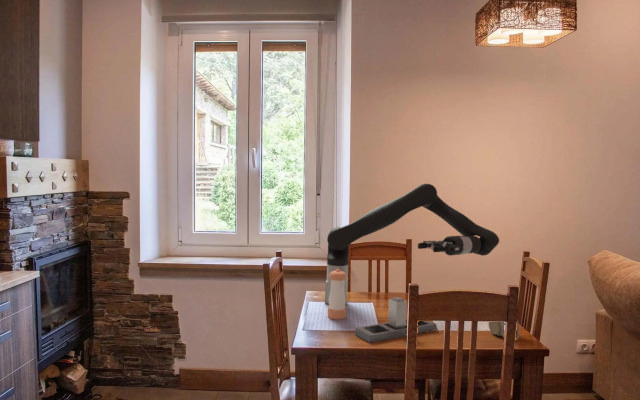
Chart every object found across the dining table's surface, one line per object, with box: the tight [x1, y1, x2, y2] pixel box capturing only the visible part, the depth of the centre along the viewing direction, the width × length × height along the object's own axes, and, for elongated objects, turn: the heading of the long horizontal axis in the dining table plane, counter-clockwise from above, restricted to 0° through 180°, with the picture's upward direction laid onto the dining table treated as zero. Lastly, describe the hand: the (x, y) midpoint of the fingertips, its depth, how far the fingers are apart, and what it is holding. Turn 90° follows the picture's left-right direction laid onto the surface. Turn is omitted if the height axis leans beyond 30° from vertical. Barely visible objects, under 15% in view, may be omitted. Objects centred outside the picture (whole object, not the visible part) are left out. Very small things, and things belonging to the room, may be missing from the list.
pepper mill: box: [327, 269, 347, 320], centre depth 190 cm, size 7×7×19 cm
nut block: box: [387, 296, 408, 330], centre depth 173 cm, size 4×4×13 cm
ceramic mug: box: [488, 319, 520, 340], centre depth 172 cm, size 11×8×8 cm
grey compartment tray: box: [354, 318, 438, 344], centre depth 174 cm, size 30×9×2 cm, turn 119°
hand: (425, 247), depth 181 cm, fingers open, 8 cm apart
